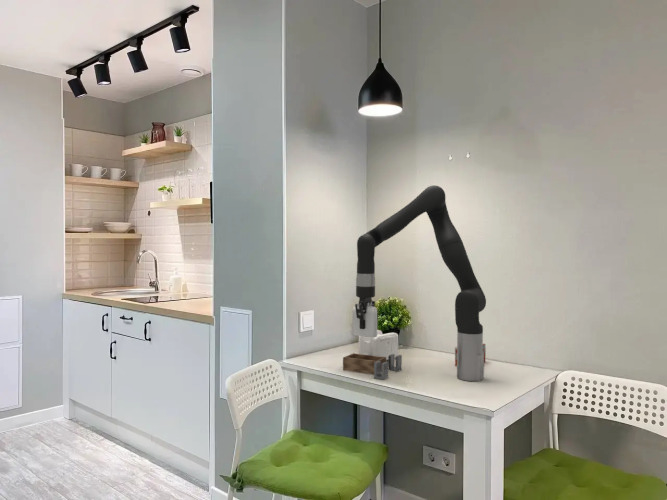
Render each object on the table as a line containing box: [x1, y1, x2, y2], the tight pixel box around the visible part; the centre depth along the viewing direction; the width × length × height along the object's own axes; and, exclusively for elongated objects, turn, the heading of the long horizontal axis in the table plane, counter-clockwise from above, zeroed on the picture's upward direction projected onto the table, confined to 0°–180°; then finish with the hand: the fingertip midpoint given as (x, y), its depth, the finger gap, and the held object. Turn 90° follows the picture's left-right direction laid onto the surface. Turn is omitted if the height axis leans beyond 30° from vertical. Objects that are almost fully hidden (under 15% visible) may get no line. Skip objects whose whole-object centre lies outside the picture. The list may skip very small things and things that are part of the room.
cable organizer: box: [358, 329, 399, 361], centre depth 229 cm, size 15×11×12 cm
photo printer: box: [351, 305, 378, 337], centre depth 210 cm, size 10×4×12 cm, turn 63°
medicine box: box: [454, 343, 487, 367], centre depth 222 cm, size 15×8×8 cm, turn 146°
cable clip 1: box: [373, 361, 389, 380], centre depth 198 cm, size 4×4×6 cm
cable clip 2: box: [387, 354, 403, 372], centre depth 210 cm, size 4×4×6 cm
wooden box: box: [342, 352, 387, 375], centre depth 210 cm, size 15×9×5 cm, turn 62°
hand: (365, 327), depth 210 cm, fingers closed on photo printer, 4 cm apart
